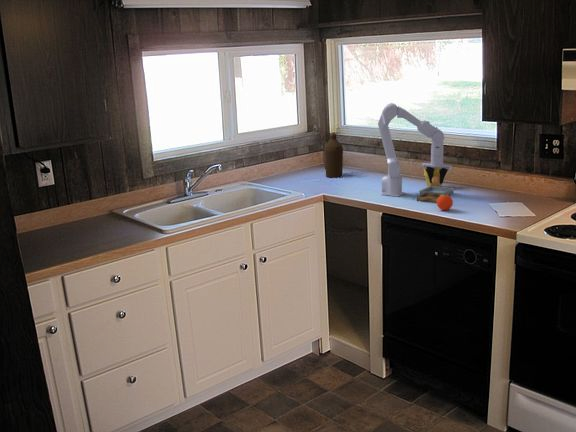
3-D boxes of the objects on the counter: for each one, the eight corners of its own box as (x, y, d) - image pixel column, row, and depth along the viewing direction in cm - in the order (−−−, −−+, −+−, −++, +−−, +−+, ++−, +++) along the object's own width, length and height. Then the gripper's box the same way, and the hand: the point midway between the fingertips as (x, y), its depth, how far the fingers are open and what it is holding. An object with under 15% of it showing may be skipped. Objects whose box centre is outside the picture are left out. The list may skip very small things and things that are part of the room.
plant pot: (436, 190, 313) (436, 171, 310) (419, 188, 320) (419, 169, 318) (448, 187, 319) (449, 168, 317) (432, 184, 327) (432, 166, 324)
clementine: (431, 210, 278) (431, 194, 276) (438, 207, 283) (439, 191, 281) (448, 212, 273) (448, 197, 271) (455, 209, 278) (455, 193, 276)
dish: (419, 195, 305) (419, 190, 304) (430, 190, 314) (430, 185, 313) (442, 198, 298) (443, 193, 297) (453, 193, 307) (453, 188, 306)
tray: (417, 200, 295) (417, 196, 295) (425, 196, 302) (425, 192, 301) (438, 203, 289) (439, 199, 288) (447, 199, 295) (447, 195, 295)
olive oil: (347, 175, 359) (346, 131, 352) (336, 178, 351) (335, 134, 344) (331, 173, 365) (330, 130, 359) (321, 177, 357) (319, 133, 351)
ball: (429, 185, 304) (430, 175, 303) (433, 183, 308) (434, 174, 306) (438, 186, 301) (439, 176, 300) (442, 184, 305) (443, 174, 304)
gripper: (419, 155, 302) (418, 183, 306) (448, 157, 293) (447, 186, 297) (425, 153, 307) (425, 180, 311) (454, 155, 299) (453, 183, 302)
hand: (436, 183), depth 304 cm, fingers closed on ball, 4 cm apart
